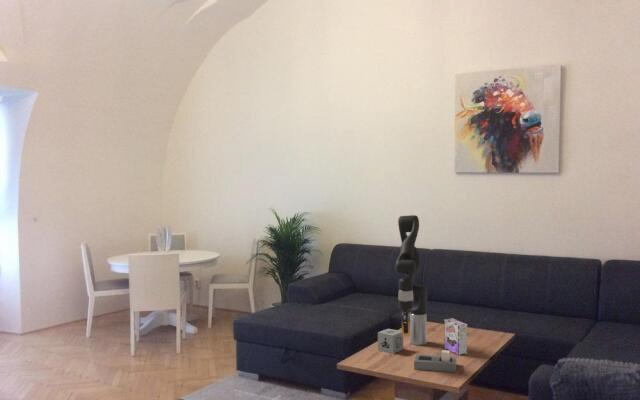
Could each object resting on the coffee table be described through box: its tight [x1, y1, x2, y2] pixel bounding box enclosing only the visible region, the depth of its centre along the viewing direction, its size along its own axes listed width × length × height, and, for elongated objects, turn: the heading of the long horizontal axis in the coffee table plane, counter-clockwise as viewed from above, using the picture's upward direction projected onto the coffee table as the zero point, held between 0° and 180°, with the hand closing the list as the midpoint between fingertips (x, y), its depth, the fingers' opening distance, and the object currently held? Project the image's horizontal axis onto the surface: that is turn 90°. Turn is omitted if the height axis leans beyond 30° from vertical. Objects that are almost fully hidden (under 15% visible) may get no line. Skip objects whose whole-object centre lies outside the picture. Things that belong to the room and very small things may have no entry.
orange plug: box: [401, 321, 411, 337], centre depth 297 cm, size 4×4×7 cm
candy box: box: [443, 317, 468, 356], centre depth 314 cm, size 14×6×16 cm, turn 21°
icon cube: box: [377, 328, 404, 355], centre depth 318 cm, size 10×10×10 cm
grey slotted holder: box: [413, 349, 457, 373], centre depth 290 cm, size 12×20×8 cm, turn 75°
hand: (406, 331), depth 297 cm, fingers closed on orange plug, 4 cm apart
